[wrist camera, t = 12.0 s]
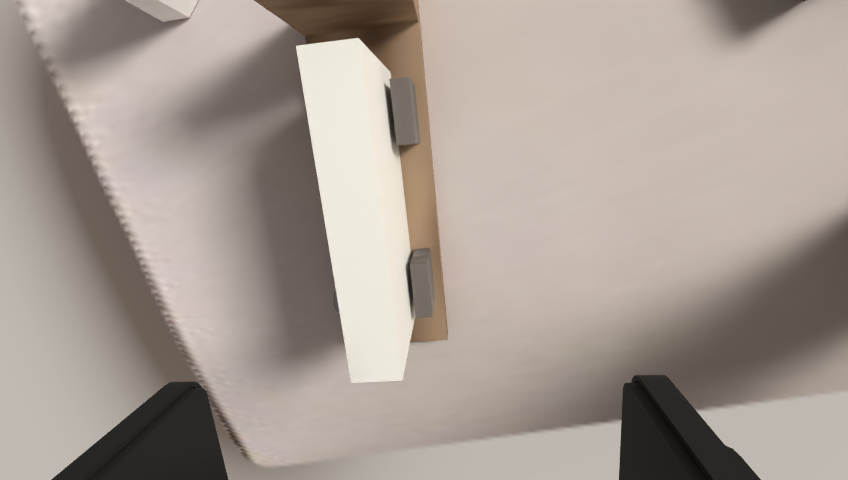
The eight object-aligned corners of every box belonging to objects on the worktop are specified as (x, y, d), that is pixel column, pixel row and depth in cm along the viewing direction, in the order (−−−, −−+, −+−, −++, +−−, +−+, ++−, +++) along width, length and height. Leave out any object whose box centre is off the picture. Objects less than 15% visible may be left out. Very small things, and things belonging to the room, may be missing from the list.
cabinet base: (417, -4, 28) (386, -135, 15) (447, 331, 34) (445, 457, 21) (307, 10, 29) (180, -102, 15) (357, 336, 35) (298, 461, 22)
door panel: (390, 71, 28) (358, 37, 18) (417, 307, 32) (402, 380, 23) (335, 78, 28) (275, 48, 19) (368, 311, 33) (334, 383, 23)
